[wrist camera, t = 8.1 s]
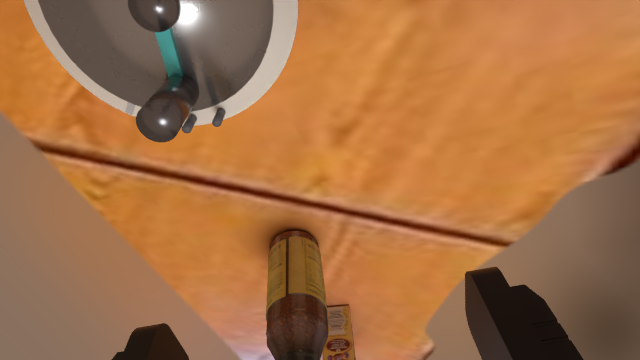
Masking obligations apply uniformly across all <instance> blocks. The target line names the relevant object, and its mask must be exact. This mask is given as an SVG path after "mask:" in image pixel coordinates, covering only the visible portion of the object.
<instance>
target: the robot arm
mask: <svg viewBox="0 0 640 360" xmlns="http://www.w3.org/2000/svg"><path fill="white" fill-rule="evenodd" d="M465 300H466V301H465V303H466V304H465V307H466V317H467V321H468V325H469V328H470V331H471V334H472V336H473V339H474V341H475V343H476V346H477V348H478V351H479V353H480V355H481V357H482V360H583V358H582V357H581V355H580V354H579V352H578V351H577V349H576V347H575V346H574V344H573V343H572V341H570V340H569V339H568V335H567V334H566V332H565V331H564V329H563V328H562V326H561V325H560V324H559V323H558V322H557V319H556V317H555V316H554V314H553V312H552V311H551V310H550V308H549V307H548V305H547V303H546V302H545V300H544V299H542V298H541V297H540V296H539V295H537V294H536V293H535V292H533V291H532V290H531V289H529V288H528V287H527V286H526V285H519V286H513V287H510V286H509V285H508V283H507V281H506V280H505V278H504V276H503V274H502V273H501V271H500V270H499V269H498V268H497V267H491V268H485V269H479V270H474V271H468V272H466V274H465ZM112 360H189V358H188V356H187V354H186V352H185V351H184V349H183V347H182V346H181V344H180V343H179V341H178V340H177V338H176V337H175V335H174V333H173V332H172V330H171V329H170V327H169V326H168V325H167V324H164V323H163V324H158V325H152V326H146V327H140V328H136V329H135V330H134V331H133V332H132V334H131V336H130V338H129V340H128V343H127V345H126V348H125V350H124V351H123V352H118V353H117V354H116V355H115V356H114V358H113V359H112Z"/></svg>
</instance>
